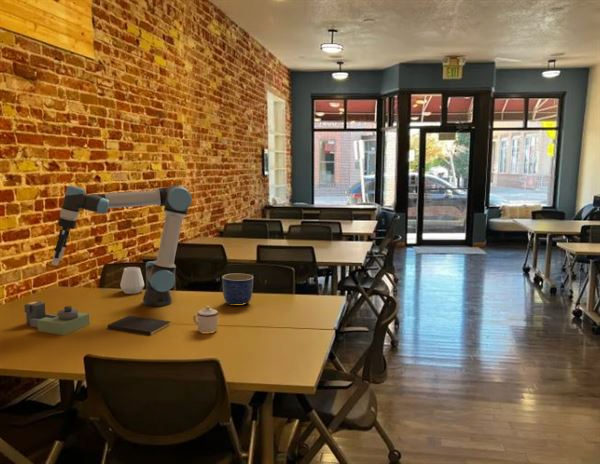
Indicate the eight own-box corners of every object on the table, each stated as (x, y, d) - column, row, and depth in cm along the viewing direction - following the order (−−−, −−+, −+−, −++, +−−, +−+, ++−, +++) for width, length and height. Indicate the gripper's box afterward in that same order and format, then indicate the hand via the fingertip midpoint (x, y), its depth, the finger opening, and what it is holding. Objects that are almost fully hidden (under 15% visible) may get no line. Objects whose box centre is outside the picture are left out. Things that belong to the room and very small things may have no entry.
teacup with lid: (221, 329, 227) (221, 305, 226) (211, 335, 219) (211, 310, 217) (198, 325, 231) (198, 301, 230) (188, 331, 223) (188, 307, 221)
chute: (47, 321, 230) (46, 302, 228) (35, 325, 223) (34, 305, 222) (36, 319, 232) (36, 300, 230) (25, 323, 225) (24, 304, 224)
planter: (236, 298, 281) (237, 272, 279) (259, 303, 272) (259, 276, 269) (215, 304, 268) (215, 276, 266) (238, 310, 258) (238, 282, 256)
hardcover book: (129, 319, 238) (129, 315, 238) (170, 326, 231) (170, 321, 231) (107, 330, 223) (107, 325, 223) (150, 336, 216) (150, 331, 216)
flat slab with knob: (89, 324, 228) (88, 303, 227) (63, 335, 213) (62, 312, 212) (51, 318, 235) (50, 298, 233) (23, 328, 220) (22, 307, 218)
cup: (115, 293, 282) (115, 270, 280) (127, 288, 295) (127, 265, 293) (137, 295, 280) (137, 271, 278) (148, 289, 293) (148, 267, 291)
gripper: (62, 214, 241) (51, 256, 241) (55, 219, 217) (43, 265, 218) (79, 218, 243) (68, 259, 244) (73, 223, 220) (61, 268, 220)
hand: (56, 262), depth 231 cm, fingers open, 13 cm apart
